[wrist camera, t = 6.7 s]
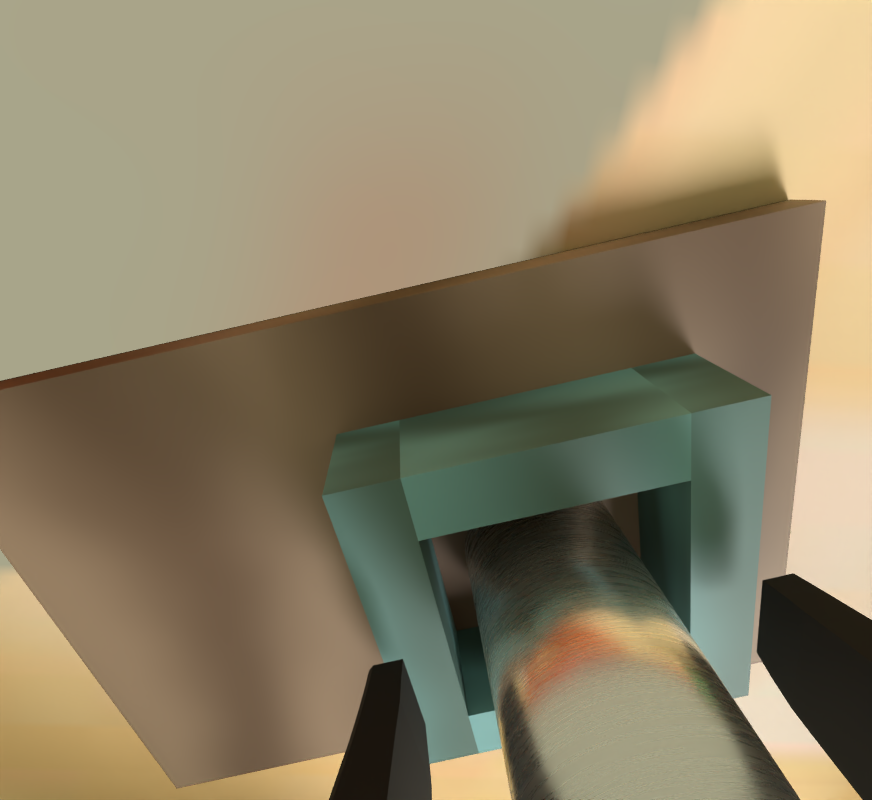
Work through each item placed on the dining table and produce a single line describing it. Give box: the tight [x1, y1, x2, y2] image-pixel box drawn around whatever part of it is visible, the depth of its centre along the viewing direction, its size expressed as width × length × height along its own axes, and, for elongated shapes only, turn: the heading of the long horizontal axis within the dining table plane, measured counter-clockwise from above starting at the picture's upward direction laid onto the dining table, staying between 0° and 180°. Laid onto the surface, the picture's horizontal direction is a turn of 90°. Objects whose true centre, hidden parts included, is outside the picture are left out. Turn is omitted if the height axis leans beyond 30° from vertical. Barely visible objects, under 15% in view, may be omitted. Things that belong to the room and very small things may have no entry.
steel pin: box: [464, 501, 800, 800], centre depth 9 cm, size 4×4×8 cm
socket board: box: [0, 200, 826, 788], centre depth 12 cm, size 20×14×4 cm
